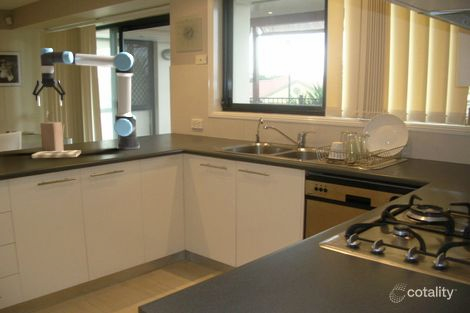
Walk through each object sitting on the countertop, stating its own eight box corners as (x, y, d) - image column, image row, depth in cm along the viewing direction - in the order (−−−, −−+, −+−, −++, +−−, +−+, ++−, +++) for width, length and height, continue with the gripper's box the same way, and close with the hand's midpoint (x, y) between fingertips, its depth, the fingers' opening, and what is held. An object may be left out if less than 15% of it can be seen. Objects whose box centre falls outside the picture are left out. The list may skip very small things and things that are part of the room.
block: (55, 153, 295) (53, 123, 292) (41, 153, 297) (39, 123, 294) (64, 151, 304) (62, 121, 301) (50, 151, 306) (48, 121, 303)
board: (81, 153, 297) (80, 150, 296) (76, 157, 281) (76, 153, 281) (39, 154, 293) (38, 151, 292) (32, 158, 277) (31, 154, 277)
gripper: (69, 73, 298) (71, 105, 301) (29, 72, 294) (31, 105, 298) (66, 72, 291) (68, 106, 294) (25, 72, 287) (28, 106, 290)
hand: (50, 105), depth 296 cm, fingers open, 13 cm apart
